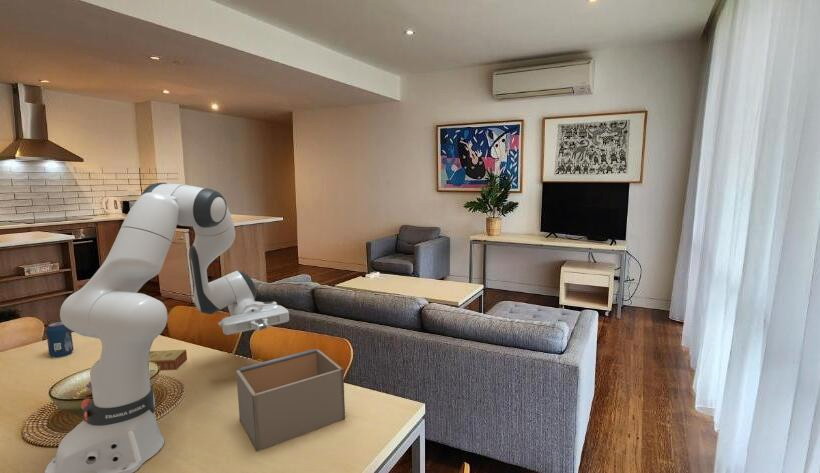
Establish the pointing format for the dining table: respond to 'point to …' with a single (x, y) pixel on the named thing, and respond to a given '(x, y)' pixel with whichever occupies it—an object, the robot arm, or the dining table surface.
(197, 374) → the dining table surface
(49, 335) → the blue can
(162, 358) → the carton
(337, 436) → the dining table surface
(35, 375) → the dining table surface
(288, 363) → the flap
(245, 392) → the open carton
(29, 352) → the dining table surface
